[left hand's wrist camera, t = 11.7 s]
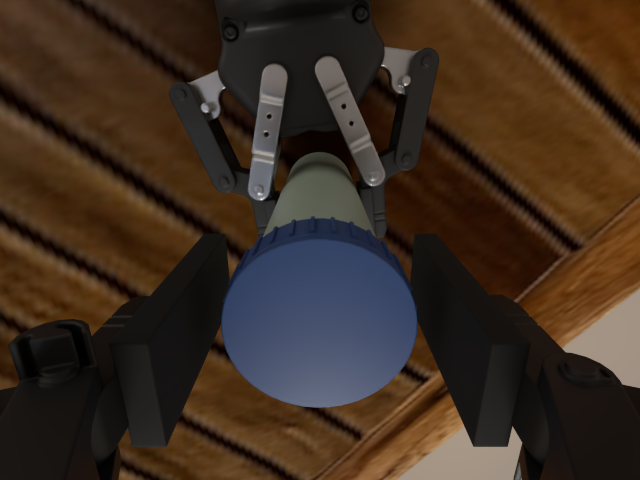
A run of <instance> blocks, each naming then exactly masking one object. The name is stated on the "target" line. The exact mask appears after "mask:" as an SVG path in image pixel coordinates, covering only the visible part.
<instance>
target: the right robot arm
mask: <svg viewBox="0 0 640 480" xmlns="http://www.w3.org/2000/svg"><path fill="white" fill-rule="evenodd" d="M214 1H215V7H216V12H217V17H218V22H219V27H220V33H221V39H222V48H221V54H220V58H219V61H218V67H217V69H218V70H217V71H215V72H212V73H210V74H208V75H206V76H204V77H201V78H199V79H197V80H195V81H193V82H190V83H185V82H176V83H174V84H173V85H172V86H171V87H170V90H169V96H170V99H171V101H172V103H173V105H174V107H175V109H176V111H177V113H178V115H179V117H180V119H181V121H182V123H183V125H184V127H185V129H186V131H187V133H188V135H189V137H190V139H191V141H192V143H193V145H194V147H195V149H196V151H197V153H198V155H199V157H200V159H201V161H202V163H203V165H204V167H205V169H206V171H207V173H208V175H209V177H210V179H211V181H212V183H213V185H214V187H215V188H216V189H217V190H218V191H220V192H222V193H228V192H233V193H238V194H242V195H245V196H246V197H248V198H249V199H250V201H251V202H252V205H253V210H254V215H255V220H256V225H257V230H258V235H259V237H260V236H261V237H262V238H263V235H264V233H265V230H266V228H267V226H268V223H269V221H270V218H271V216H272V214H273V211H274V209H275V206H276V204H277V202H278V199H279V197H280V193H279V191H275V187H274V183H275V177H276V172H277V166H278V160H279V155H280V151H281V146H282V141H283V138H284V137H291V136H296V135H298V134H301V133H303V132H305V131H308V130H314V131H321V132H329V131H337V130H339V129H340V131H341V133H342V136H343V138H344V140H345V142H346V144H347V146H348V148H349V150H350V153H351V155H352V157H353V159H354V161H355V163H356V166H357V168H358V170H359V181H357V182H356V187H357V193H358V195H359V197H360V200H361V202H362V205H363V207H364V209H365V212H366V214H367V217H368V219H369V221H370V224H371V226H372V229H373V231H374V233H375V236H376V238H383V237H384V236H385V233H386V230H387V225H386V213H385V212H386V211H385V197H384V185H385V183H386V181H387V179H388V178H389V177H391V176H392V175H394V174H396V173H398V172H400V171H402V170H404V171H408V170H411V169H412V168H414V167H415V166H416V164H417V162H418V157H419V153H420V148H421V143H422V139H423V134H424V129H425V125H426V120H427V115H428V111H429V106H430V101H431V97H432V92H433V88H434V83H435V78H436V74H437V69H438V64H439V56H438V54H437V52H436V51H435V50H434V49H432V48H424V49H421V50H418V51H411V50H404V49H397V48H390V47H384V43H383V41H382V39H381V37H380V36H379V34H378V32H377V31H376V28H375V26H374V23H373V19H372V13H371V0H214ZM380 68H382V69H383V70H385V71H386V72H387V74H388V77H389V87H390V89H391V91H392V92H394V93H396V94H399V95H398V100H397V106H396V111H395V116H394V122H393V127H392V133H391V138H390V143H389V148H388V149H386V150H384V151H382V152H380V153H378V154H377V152H376V150H375V148H374V145H373V143H372V140H371V137H370V134H369V132H368V130H367V127H366V125H365V123H364V120H363V118H362V116H361V114H360V111H359V109H358V108H359V106H360V104H361V102H362V100H363V98H364V97H365V95H366V93H367V91H368V89H369V88H370V86H371V84H372V82H373V80H374V78H375V77H376V75H377V73H378V71H379V69H380ZM226 90H228V91H229V92H230V93H231V94H232V95H233V96H234V97H235V98H236V99H237V101H238V102H239V103H240V104H241V105H242V106H243V107H244V108H245V109H246V110H247V111H248V112H249V113H250V114H251V115H252V116H253V117H254V118H255V119H256V126H255V133H254V140H253V146H252V163H251V169H246V168H242V167H241V166H240V164H239V162H238V160H237V157H236V155H235V153H234V151H233V149H232V147H231V145H230V142H229V140H228V138H227V136H226V134H225V132H224V130H223V128H222V125H221V123H220V121H219V119H218V118H220V117H221V116H222V115H223V113H224V104H223V94H224V92H225V91H226Z"/></svg>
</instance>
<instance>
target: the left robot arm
mask: <svg viewBox="0 0 640 480" xmlns="http://www.w3.org/2000/svg"><path fill="white" fill-rule="evenodd" d="M229 281H230V280H229V269H228V258H227V247H226V236H225V234H204V235H203V236H202V237H201V238H200V239H199V241H198V242H197V243H196V244H195V245H194V246H193V247H192V249H191V250H190V251H189V252H188V253H187V254H186V255H185V257H184V258H183V259H182V260H181V261H180V262H179V263H178V265H177V266H176V267H175V268H174V269H173V270H172V272H171V273H170V274H169V275H168V276H167V277H166V278H165V280H164V281H163V282H162V283H161V284H160V285H159V286H158V288H157V289H156V290H155V291H154V292H153V293H152V294H151V296H138V297H136V298H134V299H132V300H131V301H129V302H127V303H125V304H124V305H122V306H121V307H120V308H119V309H118V310H117V311H116V312H115V313H114V314H113V315H112V318H109V319H108V320H107V321H106V322H105V323H104V324H103V327H101V328H100V329H99V330H98V331H97V332H96V333H95V334H94V335H93V336H92V337H91V333H90V329H89V325H88V324H87V323H85V322H84V321H81V320H75V319H68V320H58V321H53V322H49V323H45V324H42V325H39V326H37V327H34V328H32V329H29V330H27V331H26V332H24V333H22V334H21V335H19V336H17V337H16V338H15V339H14V340H13V341H12V342H11V343H10V344H9V345H8V347H9V350H10V352H11V355H12V358H13V361H14V364H15V367H16V370H17V373H18V376H19V379H20V382H19V384H18V386H17V387H13V388H8V389H3V390H0V480H118V478H119V471H120V464H121V457H120V451H119V446H118V443H119V441H120V440H121V438H122V436H123V435H124V433H125V431H126V430H127V428H128V430H129V434H130V438H131V443H132V447H166V446H167V444H168V442H169V440H170V437H171V435H172V433H173V431H174V428H175V426H176V424H177V422H178V419H179V417H180V415H181V413H182V410H183V408H184V406H185V404H186V401H187V399H188V397H189V395H190V393H191V390H192V388H193V386H194V384H195V381H196V379H197V377H198V375H199V372H200V370H201V368H202V366H203V363H204V361H205V359H206V357H207V354H208V352H209V350H210V348H211V345H212V343H213V341H214V339H215V336H216V334H217V332H218V330H219V327H220V325H221V315H222V309H223V304H224V302H223V299H224V297H225V295H226V293H227V291H228V289H229V287H230V285H228V283H229ZM410 284H411V286H412V289H413V291H411V293H412V296H413V298H414V301H415V304H416V306H417V308H416V310H417V319H418V323H419V325H420V327H421V330H422V332H423V334H424V336H425V339H426V341H427V343H428V345H429V348H430V350H431V352H432V354H433V357H434V359H435V361H436V363H437V366H438V368H439V370H440V372H441V375H442V377H443V379H444V381H445V384H446V386H447V388H448V390H449V392H450V395H451V397H452V399H453V401H454V404H455V406H456V408H457V410H458V413H459V415H460V417H461V419H462V422H463V424H464V426H465V428H466V431H467V433H468V435H469V437H470V440H471V442H472V444H473V446H474V447H507V446H508V443H509V438H510V433H511V430H512V426H513V428H514V429H515V431H516V433H517V434H518V436H519V438H520V439H521V441H522V446H521V451H520V455H519V459H518V463H517V467H516V471H515V475H514V480H521V478H522V480H640V388H636V387H631V386H626V385H622V383H621V382H620V380H619V379H618V378H617V377H616V375H615V374H614V373H613V372H612V371H611V370H609V369H608V368H606V367H605V366H603V365H602V364H600V363H598V362H596V361H594V360H592V359H590V358H587V357H584V356H581V355H577V354H573V353H566V352H565V351H564V350H563V349H562V348H561V347H560V346H559V345H558V344H557V343H556V342H555V341H554V340H553V339H552V338H551V337H550V336H549V335H548V334H547V333H546V332H545V331H544V330H543V329H542V328H541V327H540V326H537V323H536V322H535V321H534V320H533V319H532V318H531V317H529V314H528V313H527V312H526V311H525V310H524V309H523V308H522V307H521V306H520V305H519V304H517V303H516V302H514V301H512V300H510V299H508V298H507V297H505V296H503V295H489V294H488V293H487V292H486V291H485V290H484V289H483V288H482V286H481V285H480V284H479V283H478V282H477V281H476V280H475V278H474V277H473V276H472V275H471V274H470V273H469V272H468V270H467V269H466V268H465V267H464V266H463V265H462V263H461V262H460V261H459V260H458V259H457V258H456V257H455V255H454V254H453V253H452V252H451V251H450V250H449V249H448V247H447V246H446V245H445V244H444V243H443V242H442V241H441V239H440V238H439V237H438V236H437V235H436V234H415V236H414V247H413V258H412V269H411V280H410Z"/></svg>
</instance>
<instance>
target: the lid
mask: <svg viewBox="0 0 640 480" xmlns="http://www.w3.org/2000/svg"><path fill="white" fill-rule="evenodd" d="M228 285H230V287H229V289H228V291H227V293H226V295H225V297H224V299H223V302H224V304H223V309H222V315H221V329H222V337H223V341H224V344H225V347H226V350H227V352H228V355H229V357H230V359H231V360H232V362H233V364H234V365H235V367H236V368H237V369H238V371H239V372H240V373H241V374H242V375H243V377H244V378H246V379H247V380H248V381H249V382H250V383H251V384H252V385H253V386H255V387H256V388H258V389H259V390H260V391H262V392H264V393H266V394H267V395H269V396H271V397H273V398H276V399H278V400H281V401H283V402H287V403H290V404H294V405H299V406H305V407H333V406H340V405H344V404H349V403H352V402H355V401H358V400H361V399H363V398H365V397H367V396H369V395H372V394H373V393H375V392H377V391H378V390H380V389H381V388H383V387H384V386H385V385H386V384H388V383H389V382H390V381H391V380H392V379H393V378H394V377H395V376H396V375H397V374H398V373H399V372H400V370H401V369H402V368H403V366H404V365H405V363H406V362H407V360H408V358H409V356H410V354H411V352H412V349H413V347H414V344H415V340H416V335H417V325H418V319H417V310H416V308H417V306H416V304H415V301H414V298H413V296H412V293H411V291H413V289H412V286H411V284H410V282H409V280H408V278H407V276H406V274H405V272H404V270H403V268H402V266H401V264H400V262H399V260H398V258H397V256H396V255H395V254H393V255H392V254H391V252H390V251H389V249H388V247H387V245H386V243H385V241H380V240H379V239H378V238H376V237H375V236H374V235H372V232H371V230H369V229H368V230H367V231H366V230H364V229H362V228H360V227H358V226H356V225H354V222H352V221H350V223H348V222H344V221H340V220H336V219H335V217H331V219H327V218H315V216H311V218H310V219H304V220H298V221H296V220H295V219H294V220H292V221H291V223H288V224H285V225H283V226H281V227H277V226H275V227H274V228H273V231H271V232H270V233H268V234H266V235H265V236H264V237H263V238H262V237H261V236H260V237H259V238H258V240H257V242H256V244H255V245H254V246H253V247H252V248H251V249H250V250H249V249H247V250H246V252H245V254H244V256H243V258H242V260H241V262H240V264H238V265H237V267H236V269H235V271H234V273H233V275H232V277H231V279H230V281H229V283H228Z"/></svg>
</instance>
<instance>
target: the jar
mask: <svg viewBox="0 0 640 480" xmlns="http://www.w3.org/2000/svg"><path fill="white" fill-rule="evenodd" d="M311 216H315V218H327V219H331V217H335V219H336V220H340V221H344V222H348V223H350V221H352V222H354V225H356V226H358V227H360V228H362V229H364V230H366V231H367V230H368V229H369V230H371V232H372V235H374V236H375V233H374V231H373V229H372V226H371V224H370V221H369V219H368V217H367V214H366V212H365V209H364V207H363V205H362V202H361V200H360V197H359V195H358V193H357V190H356V188H355V185H354V183H353V181H352V178H351V176H350V173H349V171H348V169H347V167H346V166H345V164H344V163H343V162H342V161H341V160H340V159H339V158H337V157H336V156H334V155H331V154H329V153H324V152H315V153H310V154H307V155H305V156H303V157H302V158H300V159H299V160H298V161H297V162H296V163H295V164H294V166H293V167H292V169H291V171H290V173H289V175H288V178H287V180H286V183H285V185H284V187H283V190H282V192H281V195H280V197H279V199H278V202H277V204H276V206H275V209H274V211H273V214H272V216H271V218H270V221H269V223H268V226H267V228H266V230H265V233H264V235H263V237H264V236H265V235H266V234H268V233H270V232H271V231H273V228H274V227H275V226H277V227H281V226H283V225H285V224H288V223H291V221H292V220H294V219H295V220H296V221H298V220H304V219H310V218H311ZM375 237H376V236H375Z"/></svg>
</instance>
